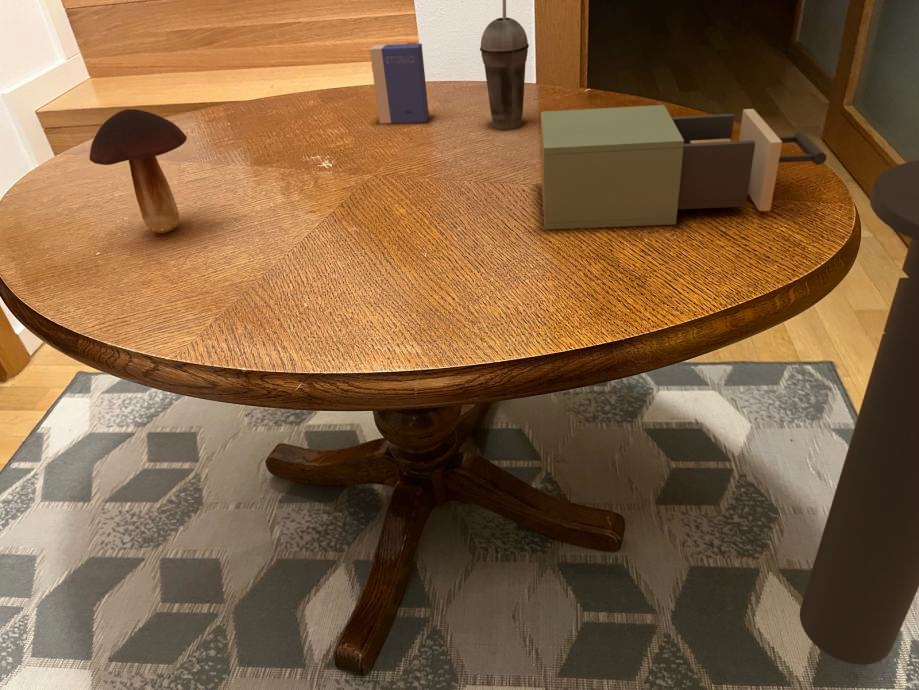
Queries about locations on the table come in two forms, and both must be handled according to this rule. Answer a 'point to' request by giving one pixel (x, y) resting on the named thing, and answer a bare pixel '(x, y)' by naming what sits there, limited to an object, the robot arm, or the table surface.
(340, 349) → the table surface
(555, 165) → the cabinet
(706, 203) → the drawer
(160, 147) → the decorative mushroom
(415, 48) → the walkman
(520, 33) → the beverage cup
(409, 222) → the table surface
